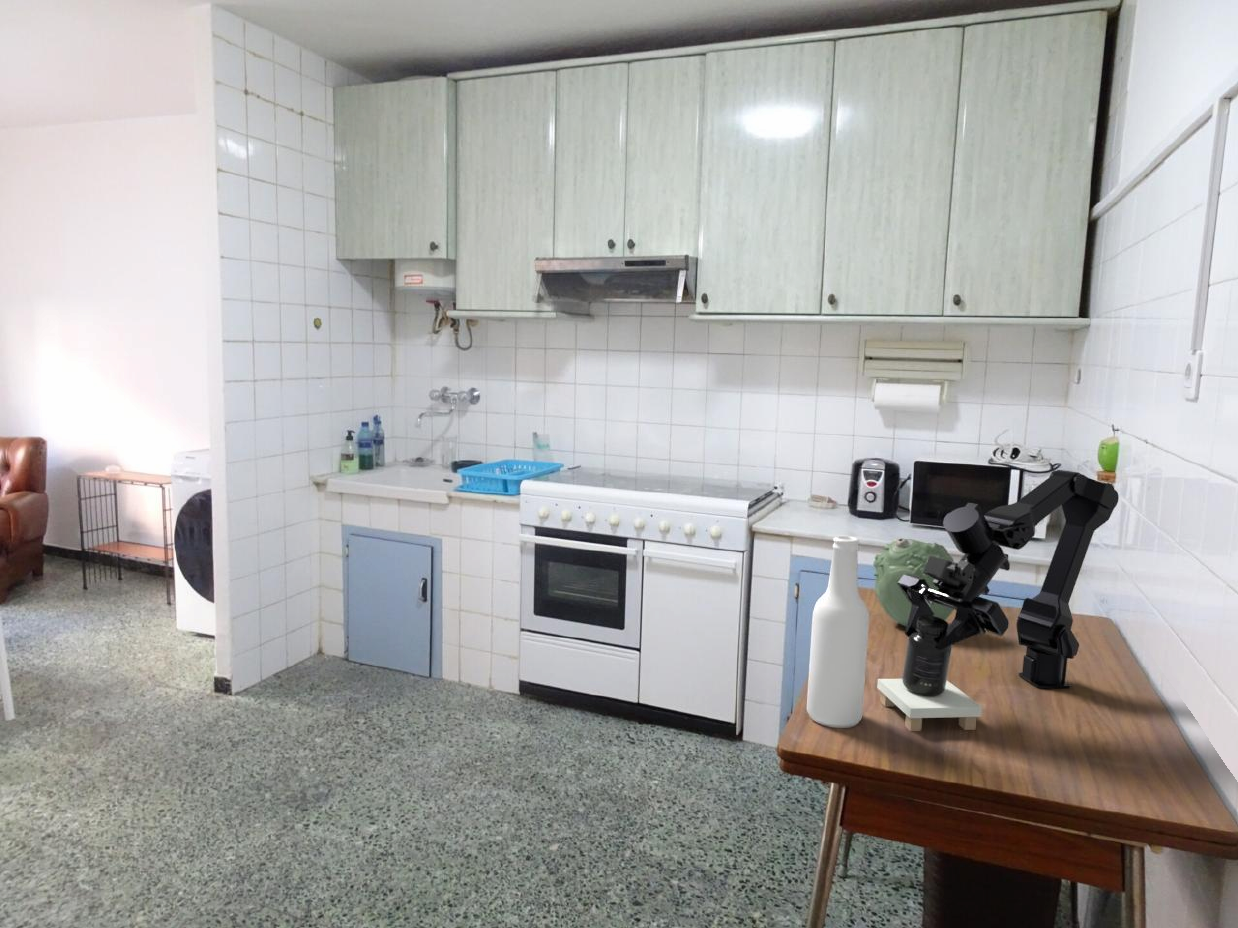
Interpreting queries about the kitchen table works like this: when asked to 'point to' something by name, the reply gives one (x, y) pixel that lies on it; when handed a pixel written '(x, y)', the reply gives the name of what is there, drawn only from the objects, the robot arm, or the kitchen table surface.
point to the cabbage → (905, 560)
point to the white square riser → (929, 704)
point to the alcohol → (839, 643)
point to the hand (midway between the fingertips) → (921, 641)
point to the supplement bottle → (926, 658)
